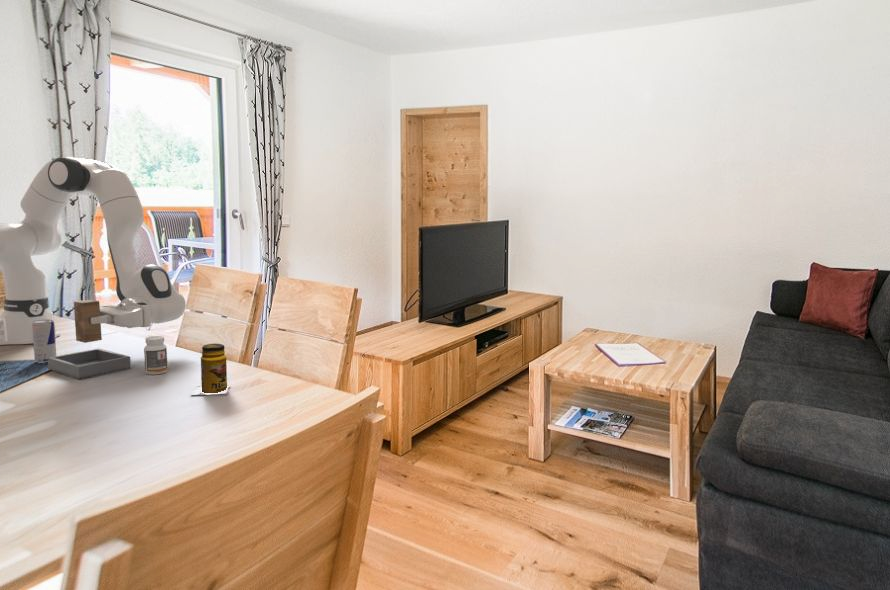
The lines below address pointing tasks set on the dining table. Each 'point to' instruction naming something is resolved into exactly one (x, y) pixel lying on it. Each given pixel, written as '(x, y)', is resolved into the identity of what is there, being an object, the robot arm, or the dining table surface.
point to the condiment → (213, 368)
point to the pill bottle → (155, 355)
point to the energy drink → (43, 340)
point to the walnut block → (87, 321)
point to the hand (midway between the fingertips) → (84, 319)
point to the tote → (89, 363)
